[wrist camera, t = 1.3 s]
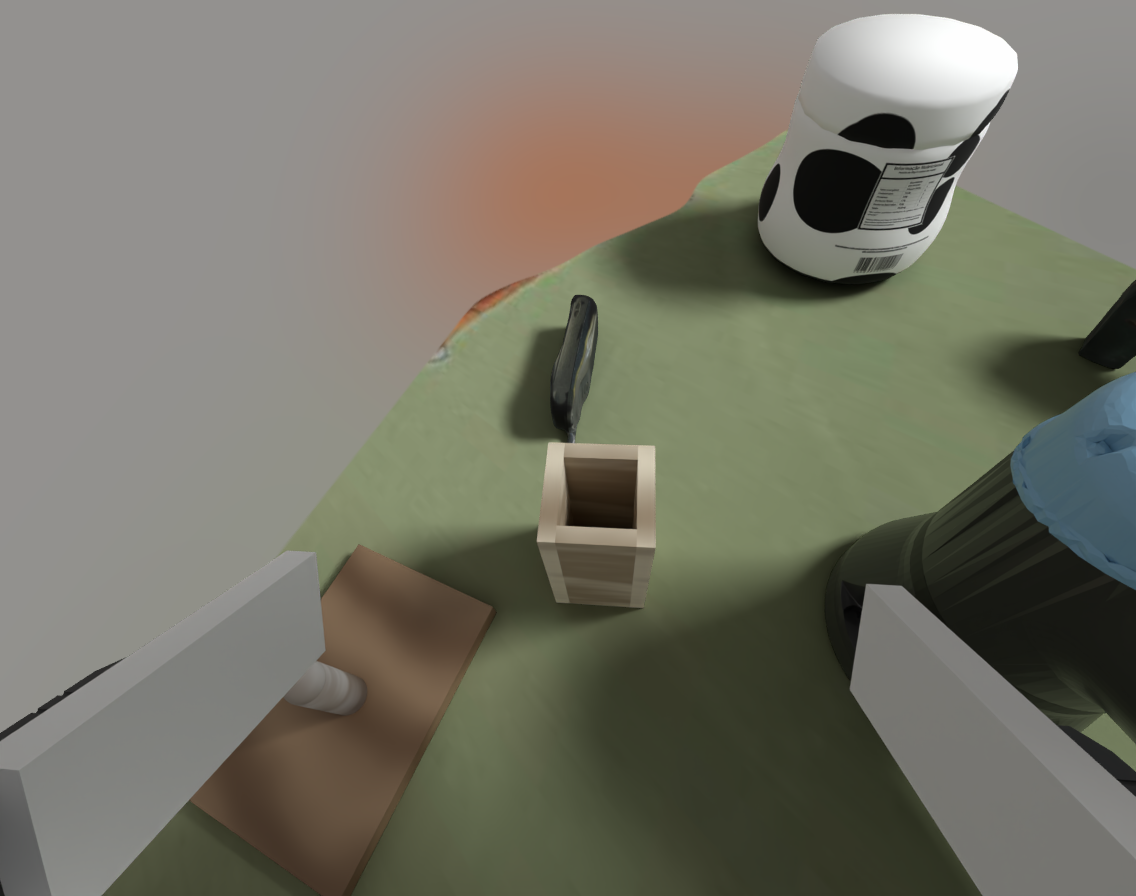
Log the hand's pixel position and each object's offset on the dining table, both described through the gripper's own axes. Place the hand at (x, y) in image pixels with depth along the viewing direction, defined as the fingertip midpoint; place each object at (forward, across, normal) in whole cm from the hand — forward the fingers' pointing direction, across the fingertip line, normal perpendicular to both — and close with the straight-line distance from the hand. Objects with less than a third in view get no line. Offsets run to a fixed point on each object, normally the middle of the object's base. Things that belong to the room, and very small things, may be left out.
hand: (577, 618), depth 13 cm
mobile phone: (+38, -3, +2) cm, 38 cm away
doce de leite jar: (+52, +24, +16) cm, 59 cm away
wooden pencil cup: (+26, 0, -11) cm, 28 cm away
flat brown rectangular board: (+19, -16, -18) cm, 31 cm away
